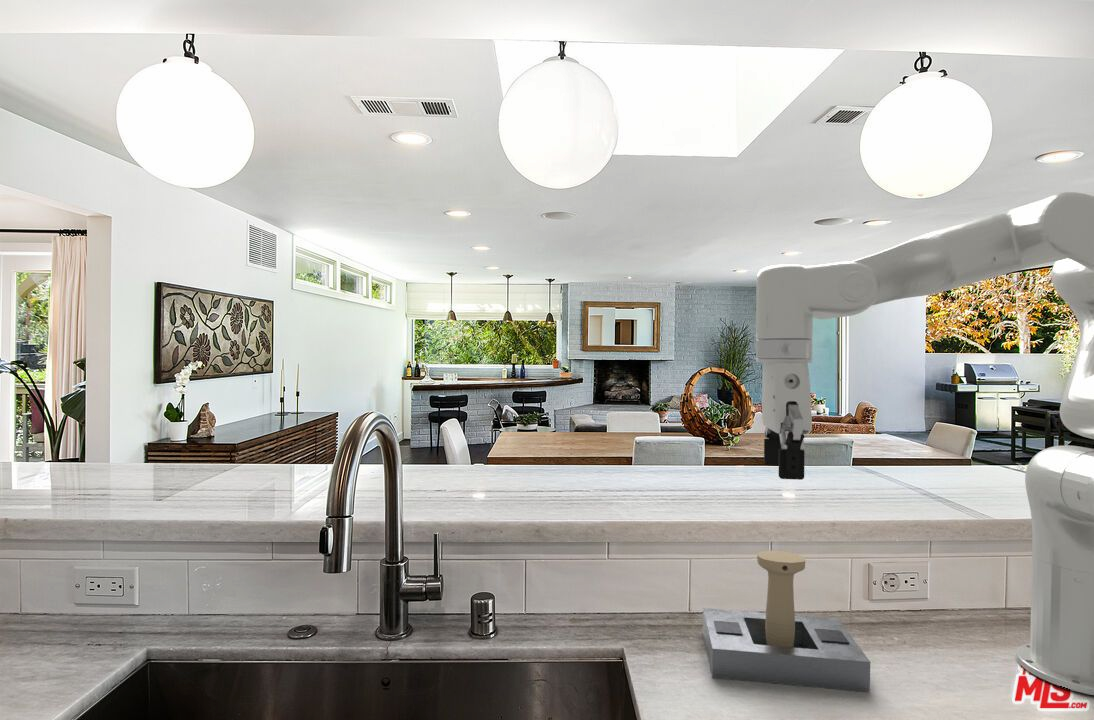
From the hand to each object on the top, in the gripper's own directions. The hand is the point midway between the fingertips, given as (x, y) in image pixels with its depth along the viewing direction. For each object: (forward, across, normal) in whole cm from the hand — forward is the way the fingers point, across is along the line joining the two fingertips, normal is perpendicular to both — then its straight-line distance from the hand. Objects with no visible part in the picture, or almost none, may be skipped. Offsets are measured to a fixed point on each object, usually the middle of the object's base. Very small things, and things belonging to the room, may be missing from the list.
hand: (782, 471), depth 86 cm
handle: (+27, 0, 0) cm, 27 cm away
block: (+27, 0, 0) cm, 27 cm away
